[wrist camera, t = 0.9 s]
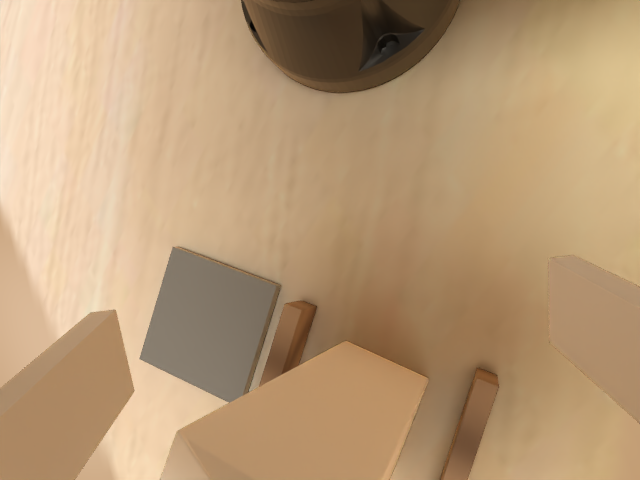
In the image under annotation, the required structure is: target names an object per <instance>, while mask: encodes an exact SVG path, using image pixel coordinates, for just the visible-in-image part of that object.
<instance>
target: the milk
mask: <svg viewBox="0 0 640 480" xmlns="http://www.w3.org/2000/svg"><path fill="white" fill-rule="evenodd" d="M428 381H429V379H428V378H427V377H425V376H423V375H420V374H418V373H416V372H414V371H412V370H409V369H407V368H405V367H403V366H401V365H398V364H396V363H394V362H392V361H390V360H387V359H385V358H383V357H381V356H379V355H376V354H374V353H372V352H370V351H368V350H365V349H363V348H361V347H359V346H357V345H354V344H352V343H350V342H348V341H344V342H342V343H340V344H338V345H336V346H334V347H332V348H331V349H329V350H327V351H325V352H323V353H321V354H319V355H318V356H316V357H314V358H312V359H310V360H308V361H306V362H305V363H303V364H301V365H299V366H297V367H295V368H293V369H291V370H290V371H288V372H286V373H284V374H282V375H280V376H278V377H277V378H275V379H273V380H271V381H269V382H267V383H265V384H264V385H262V386H260V387H258V388H256V389H254V390H252V391H251V392H249V393H247V394H245V395H243V396H241V397H239V398H237V399H236V400H234V401H232V402H230V403H228V404H226V405H224V406H223V407H221V408H219V409H217V410H215V411H213V412H211V413H210V414H208V415H206V416H204V417H202V418H200V419H198V420H197V421H195V422H193V423H191V424H189V425H187V426H185V427H183V428H182V429H180V430H178V431H177V433H176V435H175V438H174V441H173V444H172V446H171V449H170V452H169V455H168V458H167V461H166V463H165V466H164V469H163V472H162V475H161V478H160V480H390V478H391V475H392V473H393V471H394V468H395V466H396V464H397V461H398V459H399V456H400V453H401V451H402V448H403V446H404V443H405V440H406V438H407V435H408V433H409V430H410V428H411V425H412V422H413V420H414V417H415V415H416V412H417V409H418V407H419V404H420V402H421V399H422V396H423V394H424V391H425V389H426V386H427V383H428Z"/></svg>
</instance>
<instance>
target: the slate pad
mask: <svg viewBox="0 0 640 480" xmlns="http://www.w3.org/2000/svg"><path fill="white" fill-rule="evenodd" d="M280 287H281V285H279V284H276V283H274V282H271V281H268V280H266V279H263V278H260V277H258V276H255V275H252V274H250V273H247V272H244V271H242V270H239V269H236V268H234V267H231V266H228V265H226V264H223V263H220V262H218V261H215V260H212V259H210V258H207V257H204V256H202V255H199V254H196V253H194V252H191V251H188V250H186V249H183V248H180V247H173V248H172V251H171V255H170V258H169V261H168V265H167V268H166V271H165V275H164V278H163V282H162V285H161V288H160V292H159V295H158V298H157V302H156V305H155V308H154V312H153V315H152V318H151V322H150V325H149V328H148V332H147V335H146V339H145V342H144V345H143V349H142V352H141V355H140V359H141V360H143V361H145V362H147V363H149V364H151V365H153V366H155V367H157V368H159V369H161V370H163V371H165V372H167V373H169V374H171V375H173V376H176V377H178V378H180V379H182V380H184V381H186V382H188V383H190V384H192V385H194V386H196V387H198V388H200V389H202V390H204V391H206V392H208V393H211V394H213V395H215V396H217V397H219V398H221V399H223V400H225V401H227V402H229V403H230V402H232V401H234V400H236V399H237V398H239V397H241V396H243V395H245V394H247V393H248V391H249V387H250V384H251V381H252V378H253V374H254V371H255V368H256V365H257V362H258V358H259V355H260V352H261V349H262V345H263V342H264V339H265V336H266V333H267V329H268V326H269V323H270V320H271V316H272V313H273V310H274V307H275V304H276V300H277V297H278V294H279V291H280Z"/></svg>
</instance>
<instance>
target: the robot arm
mask: <svg viewBox="0 0 640 480" xmlns="http://www.w3.org/2000/svg"><path fill="white" fill-rule="evenodd" d="M459 2H460V0H241V3H242V8H243V12H244V16H245V19H246V22H247V25H248V27H249V30H250V32H251V34H252V36H253V37H254V39H255V41H256V42H257V44H258V46H259V47H260V48H261V50H262V51H263V52H264V53H265V54H266V56H267V57H268V58H269V59H270V60H271V61H272V62H273V63H274V64H275V65H276V66H277V67H278V68H279V69H280V70H282V71H283V72H284V73H285V74H286V75H288V76H289V77H290V78H292V79H293V80H295V81H297V82H299V83H301V84H303V85H305V86H308V87H311V88H314V89H318V90H322V91H329V92H352V91H359V90H363V89H368V88H371V87H375V86H377V85H380V84H383V83H385V82H387V81H389V80H391V79H393V78H395V77H397V76H399V75H400V74H402V73H404V72H405V71H407V70H408V69H410V68H411V67H412V66H414V65H415V64H416V63H417V62H418V61H420V60H421V59H422V58H423V57H424V56H425V55H426V54H427V53H428V52H429V51H430V50H431V49H432V48H433V47H434V45H435V44H436V43H437V42H438V41H439V39H440V38H441V36H442V35H443V34H444V32H445V31H446V29H447V27H448V26H449V24H450V22H451V20H452V18H453V16H454V14H455V12H456V10H457V7H458V4H459ZM548 285H549V343H550V344H551V345H553V346H554V347H555V348H556V349H557V350H558V351H559V352H560V353H561V354H563V355H564V356H565V357H566V358H567V359H568V360H569V361H570V362H571V363H573V364H574V365H575V366H576V367H577V368H578V369H579V370H580V371H582V372H583V373H584V374H585V375H586V376H587V377H588V378H589V379H590V380H592V381H593V382H594V383H595V384H596V385H597V386H598V387H599V388H600V389H602V390H603V391H604V392H605V393H606V394H607V395H608V396H609V397H611V398H612V399H613V400H614V401H615V402H616V403H617V404H618V405H619V406H621V407H622V408H623V409H624V410H625V411H626V412H627V413H628V414H629V415H631V416H632V417H633V418H634V419H635V420H636V421H637V422H638V423H639V424H640V287H639V286H637V285H635V284H633V283H631V282H629V281H627V280H625V279H623V278H620V277H618V276H616V275H614V274H612V273H610V272H608V271H606V270H604V269H602V268H600V267H598V266H596V265H593V264H591V263H589V262H587V261H585V260H583V259H581V258H579V257H577V256H575V255H570V256H561V257H553V258H548ZM133 393H134V387H133V382H132V378H131V374H130V369H129V365H128V361H127V356H126V352H125V348H124V344H123V339H122V335H121V331H120V326H119V322H118V318H117V313H116V310H108V311H100V312H91V313H90V314H88V315H87V316H86V317H85V318H84V319H82V320H81V321H80V322H79V323H78V324H76V325H75V326H74V327H73V328H72V329H70V330H69V331H68V332H67V333H66V334H64V335H63V336H62V337H61V338H60V339H58V340H57V341H56V342H55V343H54V344H52V345H51V346H50V347H49V348H48V349H46V350H45V351H44V352H43V353H42V354H40V356H38V357H37V358H36V359H34V361H32V362H31V363H30V364H29V365H27V366H26V367H25V368H24V369H23V370H21V371H20V372H19V373H18V374H17V375H15V376H14V377H13V378H12V379H11V380H10V381H8V382H7V383H6V384H5V385H3V386H2V387H1V388H0V480H75V479H76V478H77V476H78V475H79V473H80V472H81V470H82V469H83V467H84V466H85V464H86V463H87V461H88V460H89V458H90V457H91V455H92V453H93V452H94V451H95V449H96V448H97V446H98V445H99V443H100V442H101V440H102V439H103V437H104V436H105V434H106V433H107V431H108V430H109V428H110V427H111V425H112V424H113V422H114V421H115V419H116V418H117V416H118V415H119V413H120V412H121V410H122V409H123V407H124V406H125V405H126V403H127V402H128V400H129V399H130V397H131V396H132V394H133Z"/></svg>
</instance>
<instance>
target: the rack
mask: <svg viewBox="0 0 640 480" xmlns="http://www.w3.org/2000/svg"><path fill="white" fill-rule="evenodd" d="M316 308H317V306H314V305H312V304H309V303H307V302H304V301H297V302H291V303H286V304H285V305H284V308H283V311H282V314H281V317H280V321H279V324H278V327H277V330H276V333H275V337H274V340H273V343H272V346H271V350H270V353H269V356H268V359H267V362H266V366H265V369H264V372H263V375H262V378H261V382H260V385H259V387H260V386H262V385H264V384H265V383H267V382H269V381H271V380H273V379H275V378H277V377H278V376H280V375H282V374H284V373H286V372H288V371H290V370H291V369H293V368H295V367H297V366H298V365H299V362H300V359H301V356H302V352H303V349H304V346H305V343H306V340H307V337H308V333H309V330H310V327H311V324H312V321H313V317H314V314H315V311H316ZM498 388H499V385H498V378H497V375H495V374H493V373H490V372H488V371H485V370H482V369H480V368H477V370H476V373H475V376H474V379H473V382H472V385H471V388H470V391H469V394H468V397H467V400H466V403H465V406H464V409H463V412H462V415H461V418H460V421H459V424H458V427H457V430H456V433H455V436H454V439H453V442H452V445H451V448H450V451H449V454H448V457H447V460H446V463H445V466H444V469H443V472H442V475H441V478H440V480H468V477H469V474H470V471H471V468H472V465H473V462H474V459H475V456H476V453H477V450H478V447H479V444H480V441H481V438H482V435H483V432H484V429H485V426H486V423H487V420H488V417H489V414H490V412H491V409H492V406H493V403H494V400H495V397H496V394H497V391H498Z"/></svg>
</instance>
